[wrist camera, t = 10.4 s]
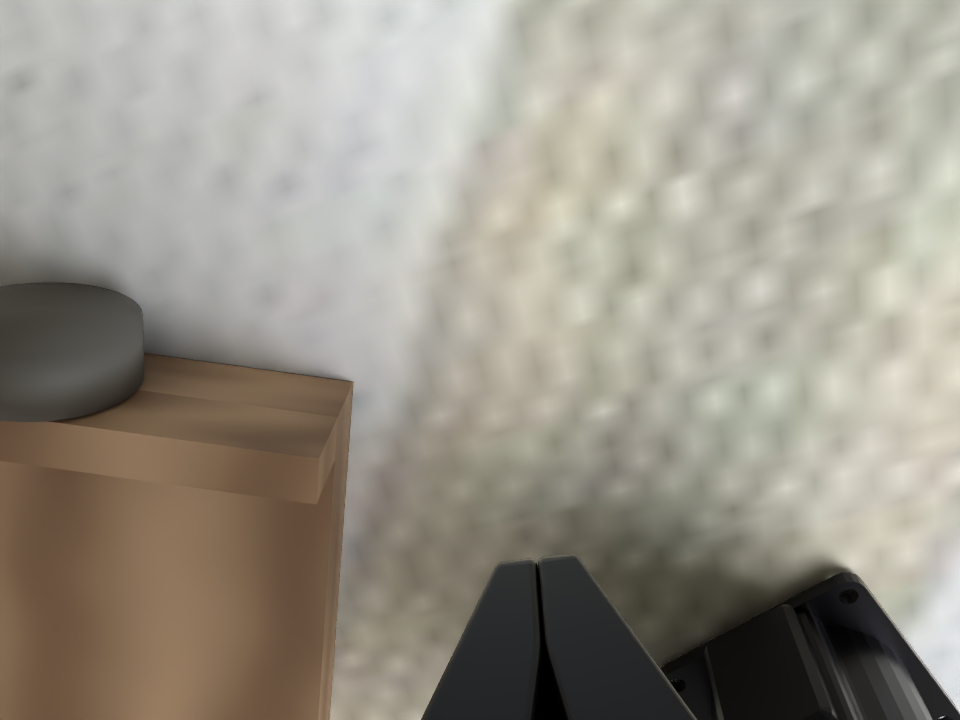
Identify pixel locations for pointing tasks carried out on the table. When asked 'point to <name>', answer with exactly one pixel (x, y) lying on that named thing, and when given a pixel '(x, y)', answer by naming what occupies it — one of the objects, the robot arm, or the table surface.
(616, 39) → the table surface
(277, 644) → the trailer
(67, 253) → the table surface
